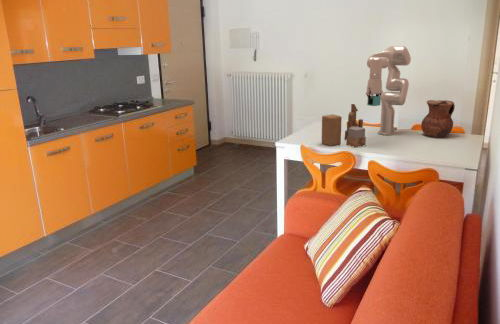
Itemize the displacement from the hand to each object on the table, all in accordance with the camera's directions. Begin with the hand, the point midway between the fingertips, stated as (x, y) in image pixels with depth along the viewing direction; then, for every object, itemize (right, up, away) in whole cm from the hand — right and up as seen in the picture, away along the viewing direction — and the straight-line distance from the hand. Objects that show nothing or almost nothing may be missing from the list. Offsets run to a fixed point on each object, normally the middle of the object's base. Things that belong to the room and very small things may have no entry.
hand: (373, 103), depth 276 cm
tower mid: (-11, -22, +4) cm, 25 cm away
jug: (+53, -20, +24) cm, 62 cm away
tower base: (-11, -28, +5) cm, 31 cm away
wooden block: (-27, -27, +11) cm, 40 cm away
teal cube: (0, -1, 0) cm, 1 cm away
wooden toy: (-7, -22, +25) cm, 34 cm away
